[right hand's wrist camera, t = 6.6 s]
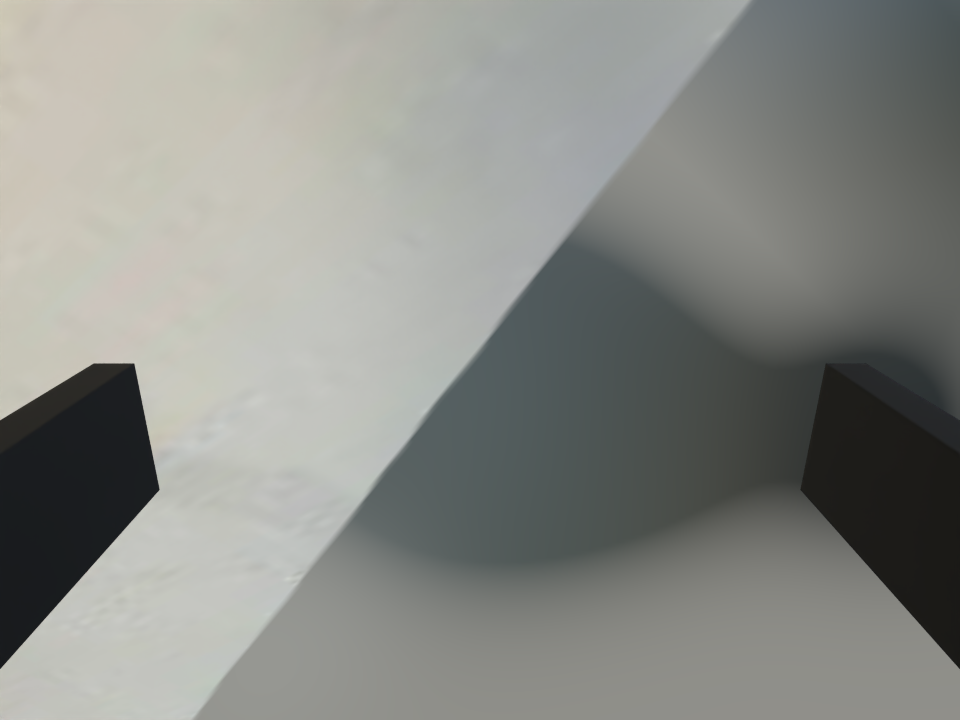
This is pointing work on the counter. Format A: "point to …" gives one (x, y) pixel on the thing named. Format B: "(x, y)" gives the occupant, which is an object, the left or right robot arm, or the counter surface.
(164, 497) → the counter surface
